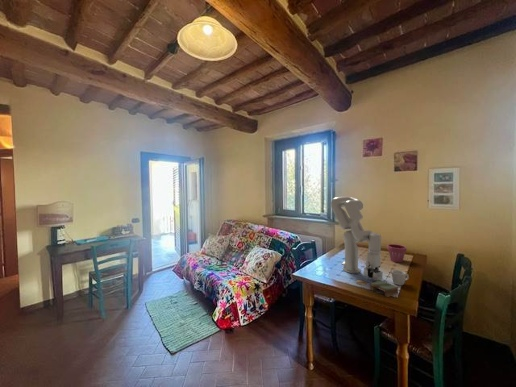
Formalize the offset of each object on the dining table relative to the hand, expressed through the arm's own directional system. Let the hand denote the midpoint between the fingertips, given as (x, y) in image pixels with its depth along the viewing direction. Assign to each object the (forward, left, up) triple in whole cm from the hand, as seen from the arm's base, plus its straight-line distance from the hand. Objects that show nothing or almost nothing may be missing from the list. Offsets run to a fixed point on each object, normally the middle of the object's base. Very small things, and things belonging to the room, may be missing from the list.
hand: (372, 275), depth 158 cm
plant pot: (-15, +55, -3) cm, 57 cm away
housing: (0, 0, -1) cm, 1 cm away
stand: (+14, -9, -3) cm, 17 cm away
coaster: (-1, -10, -3) cm, 11 cm away
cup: (+13, +11, -3) cm, 17 cm away
